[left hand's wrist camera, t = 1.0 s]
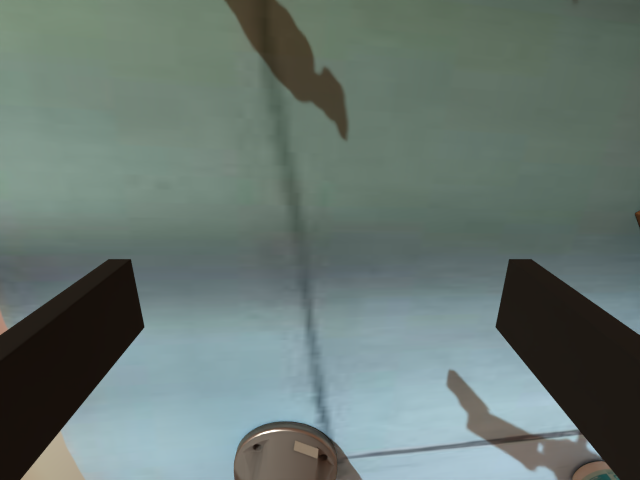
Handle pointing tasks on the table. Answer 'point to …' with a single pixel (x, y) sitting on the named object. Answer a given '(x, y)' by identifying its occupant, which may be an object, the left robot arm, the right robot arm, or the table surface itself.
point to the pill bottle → (595, 472)
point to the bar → (638, 216)
